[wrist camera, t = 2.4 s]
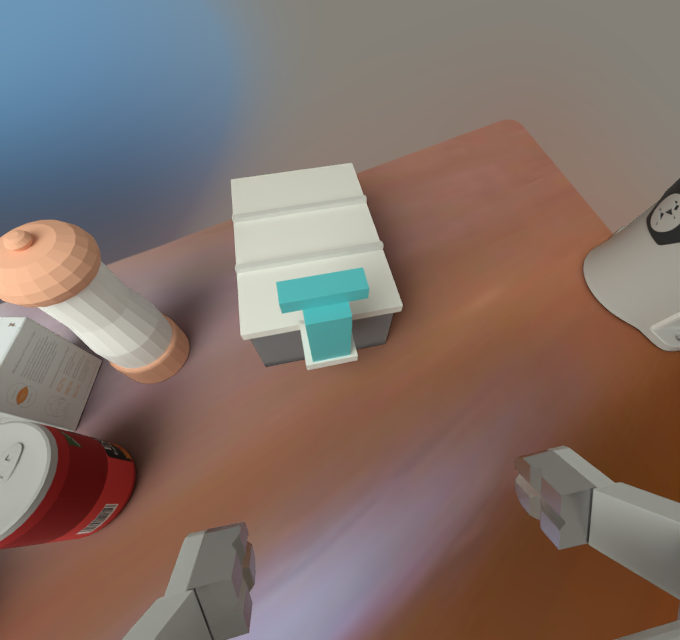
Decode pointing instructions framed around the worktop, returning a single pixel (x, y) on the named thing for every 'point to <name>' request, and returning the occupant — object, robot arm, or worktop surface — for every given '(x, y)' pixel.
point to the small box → (42, 375)
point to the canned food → (58, 484)
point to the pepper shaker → (89, 299)
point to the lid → (309, 260)
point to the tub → (291, 345)
